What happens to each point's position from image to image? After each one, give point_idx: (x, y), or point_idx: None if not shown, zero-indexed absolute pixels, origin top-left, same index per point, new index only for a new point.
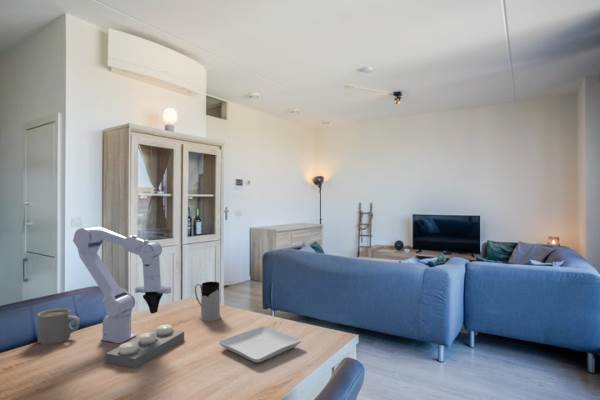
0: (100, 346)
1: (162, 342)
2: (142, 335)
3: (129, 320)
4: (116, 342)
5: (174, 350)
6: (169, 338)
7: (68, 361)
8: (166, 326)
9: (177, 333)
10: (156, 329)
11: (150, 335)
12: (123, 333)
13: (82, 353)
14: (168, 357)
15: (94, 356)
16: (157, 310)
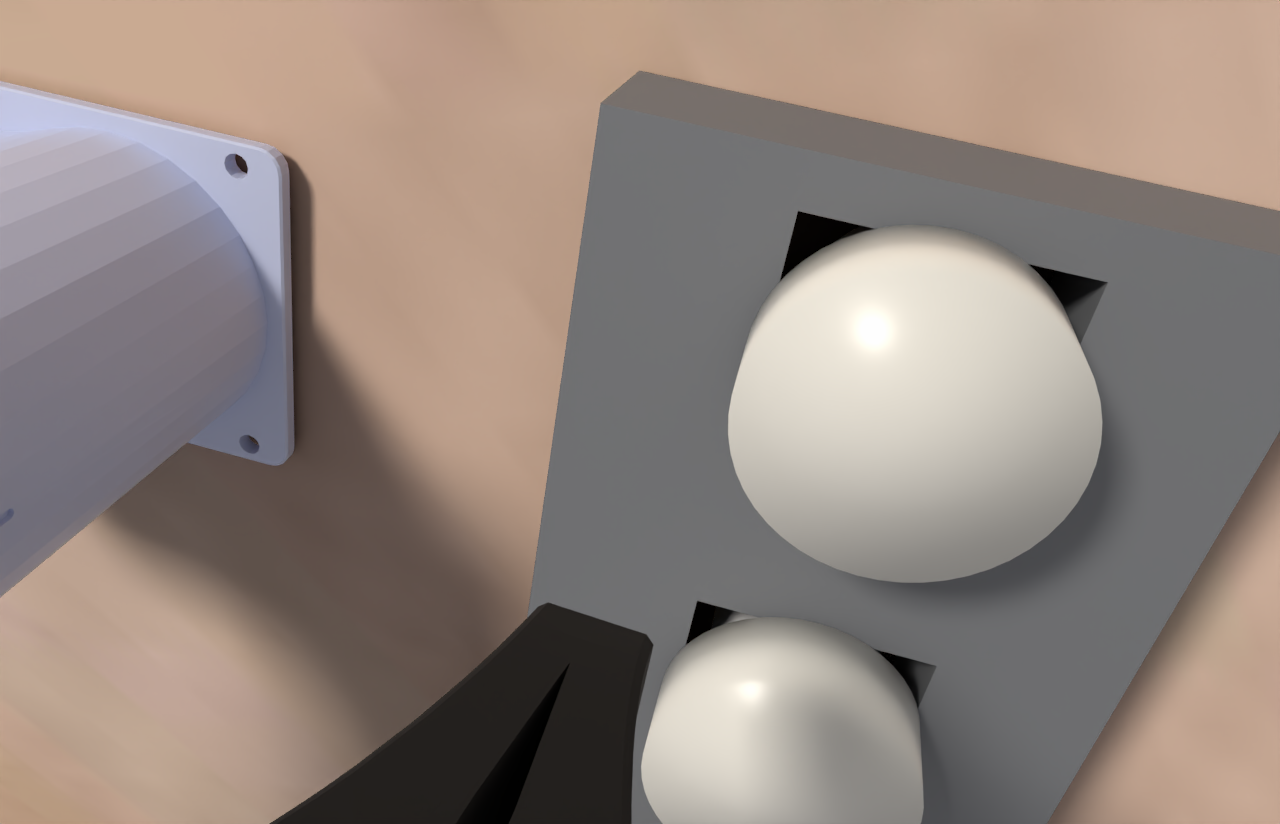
0: (133, 527)
1: (1047, 751)
2: (684, 783)
3: (62, 433)
4: (227, 449)
5: (1216, 630)
6: (1118, 620)
7: (172, 811)
8: (933, 387)
9: (1219, 395)
10: (771, 519)
11: (819, 786)
12: (192, 429)
13: (127, 681)
14: (1188, 803)
15: (299, 741)
16: (644, 662)
